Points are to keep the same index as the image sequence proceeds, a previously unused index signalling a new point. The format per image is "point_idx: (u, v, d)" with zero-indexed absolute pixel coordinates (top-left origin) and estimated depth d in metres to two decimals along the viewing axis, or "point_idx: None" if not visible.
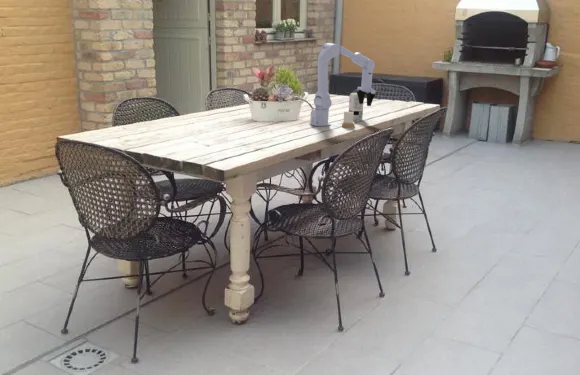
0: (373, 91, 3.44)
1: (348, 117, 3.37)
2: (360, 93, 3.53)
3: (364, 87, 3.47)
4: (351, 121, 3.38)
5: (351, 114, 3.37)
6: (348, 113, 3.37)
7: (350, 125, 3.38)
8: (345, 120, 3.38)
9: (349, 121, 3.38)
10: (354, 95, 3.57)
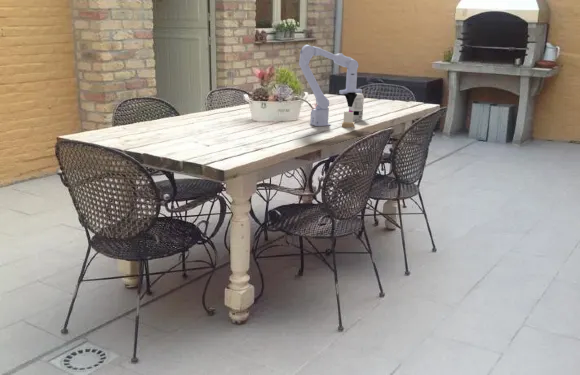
0: None
1: (348, 117, 3.37)
2: None
3: None
4: (351, 121, 3.38)
5: (351, 114, 3.37)
6: (348, 113, 3.37)
7: (350, 125, 3.38)
8: (345, 120, 3.38)
9: (349, 121, 3.38)
10: None
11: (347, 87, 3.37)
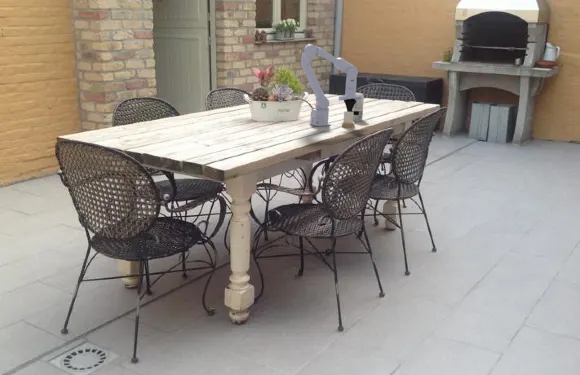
0: None
1: (348, 117, 3.37)
2: None
3: (355, 94, 3.39)
4: (351, 121, 3.38)
5: (351, 114, 3.37)
6: (348, 113, 3.37)
7: (350, 125, 3.38)
8: (345, 120, 3.38)
9: (349, 121, 3.38)
10: None
11: (346, 93, 3.38)
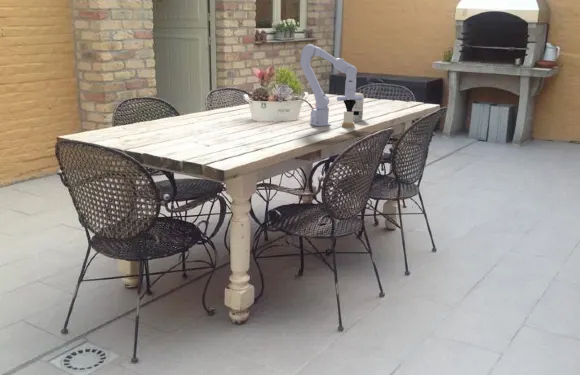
0: None
1: (348, 117, 3.37)
2: None
3: (354, 95, 3.35)
4: (351, 121, 3.38)
5: (351, 114, 3.37)
6: (348, 113, 3.37)
7: (350, 125, 3.38)
8: (345, 120, 3.38)
9: (349, 121, 3.38)
10: None
11: (345, 94, 3.35)
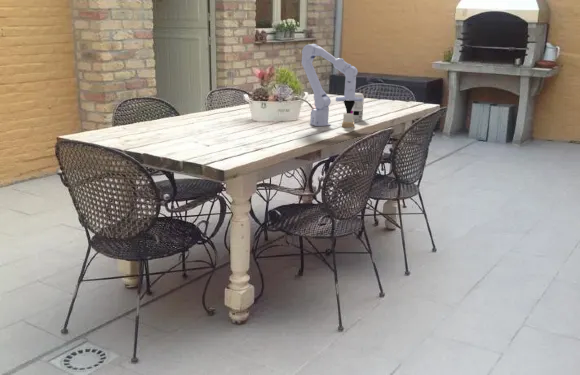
0: None
1: (348, 118, 3.36)
2: None
3: (353, 96, 3.31)
4: (351, 121, 3.37)
5: (351, 116, 3.34)
6: (347, 115, 3.34)
7: (350, 125, 3.38)
8: (345, 120, 3.37)
9: (349, 121, 3.37)
10: None
11: (344, 95, 3.32)
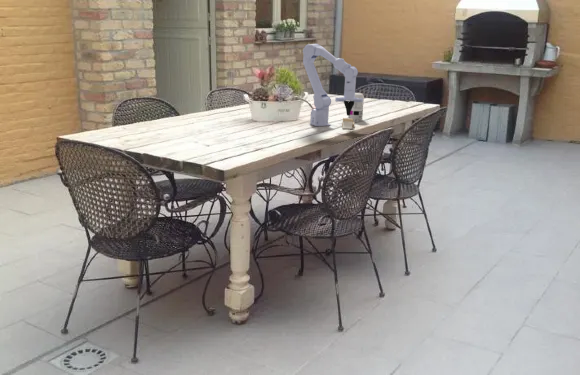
0: (362, 99, 3.32)
1: None
2: None
3: (352, 97, 3.30)
4: None
5: None
6: None
7: None
8: None
9: None
10: None
11: (344, 95, 3.31)
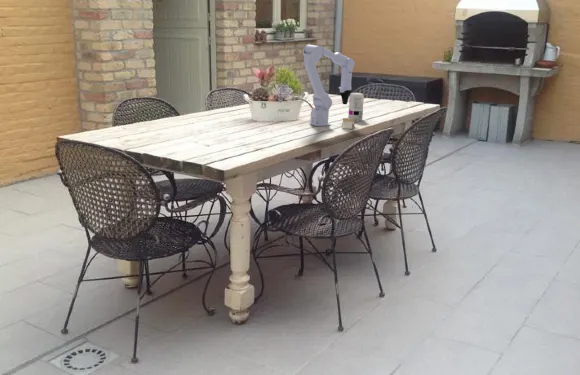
0: None
1: None
2: None
3: None
4: None
5: None
6: None
7: None
8: None
9: None
10: (354, 95, 3.57)
11: (344, 85, 3.44)
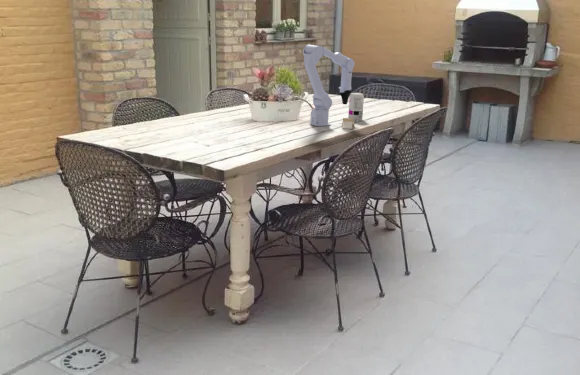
0: None
1: None
2: None
3: None
4: None
5: None
6: None
7: None
8: None
9: None
10: (354, 95, 3.57)
11: (344, 85, 3.44)
